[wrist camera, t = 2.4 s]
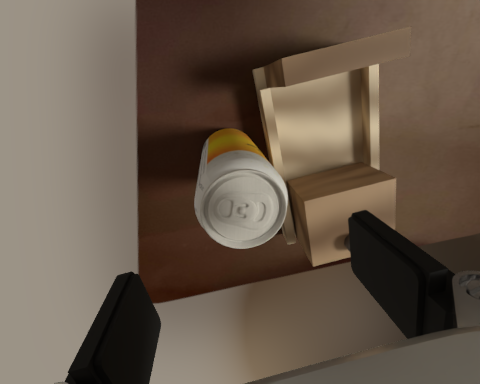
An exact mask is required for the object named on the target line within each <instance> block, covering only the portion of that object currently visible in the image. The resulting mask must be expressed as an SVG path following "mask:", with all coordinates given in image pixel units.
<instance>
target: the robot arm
mask: <svg viewBox="0 0 480 384" xmlns="http://www.w3.org/2000/svg"><path fill="white" fill-rule="evenodd" d="M348 226H349V240H350V254H351V267H352V270H353V272H354V274H355V275H356V277H357V278H358V279H359V280H360V281H361V283H362V284H363V285H364V286H365V288H366V289H367V290H368V291H369V292H370V294H371V295H372V296H373V297H374V299H375V300H376V301H377V302H378V303H379V305H380V306H381V307H382V308H383V309H384V310H385V312H386V313H387V314H388V316H389V317H390V318H391V319H392V321H393V322H394V323H395V324H396V325H397V327H398V328H399V329H400V330H401V331H402V333H403V334H404V335H405V336H406V338H407V339H406V340H402V341H398V342H394V343H390V344H386V345H382V346H379V347H375V348H372V349H368V350H364V351H360V352H357V353H353V354H350V355H346V356H342V357H338V358H335V359H331V360H327V361H324V362H320V363H316V364H313V365H309V366H306V367H302V368H298V369H295V370H291V371H288V372H284V373H281V374H277V375H273V376H270V377H266V378H263V379H259V380H256V381H252V382H248V383H245V384H480V272H479V271H462V272H459V273H457V274H456V275H455V274H454V273H452V272H451V271H450V270H448V268H446V267H445V266H444V265H442V264H441V263H440V262H438V261H437V260H436V259H434V258H433V257H431V256H430V255H429V254H427V253H426V252H424V251H423V250H422V249H420V248H419V247H417V246H416V245H415V244H413V243H412V242H411V241H409V240H408V239H406V238H405V237H404V236H402V235H401V234H399V233H398V232H397V231H395V230H394V229H392V228H391V227H390V226H388V225H387V224H386V223H384V222H383V221H381V220H380V219H379V218H377V217H376V216H374V215H373V214H372V213H370V212H369V211H367V210H362V211H359V212H355V213H352V215H351V217H349V218H348ZM160 328H161V321H160V318H159V315H158V313H157V311H156V309H155V307H154V305H153V303H152V301H151V299H150V297H149V295H148V293H147V291H146V289H145V287H144V285H143V282H142V280H141V278H140V276H139V275H138V274H134V273H133V272H128V273H124V274H121V275H118V276H117V277H116V279H115V281H114V283H113V285H112V287H111V288H110V290H109V293H108V294H107V296H106V299H105V300H104V302H103V304H102V306H101V308H100V310H99V312H98V314H97V316H96V318H95V320H94V322H93V324H92V326H91V328H90V330H89V332H88V334H87V336H86V338H85V340H84V342H83V343H82V346H81V347H80V349H79V351H78V353H77V355H76V357H75V359H74V361H73V363H72V365H71V367H70V369H69V371H68V373H69V374H68V376H67V378H66V380H65V382H58V383H54V384H149V381H150V376H151V372H152V367H153V361H154V357H155V352H156V348H157V343H158V338H159V333H160Z"/></svg>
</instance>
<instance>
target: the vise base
mask: <svg viewBox="0 0 480 384" xmlns="http://www.w3.org/2000/svg"><path fill="white" fill-rule="evenodd" d="M410 47H411V27H406V28H402V29H398V30H394V31H390V32H386V33H382V34H378V35H374V36H370V37H366V38H362V39H358V40H354V41H350V42H346V43H342V44H338V45H334V46H330V47H326V48H321V49H317V50H313V51H309V52H305V53H301V54H297V55H293V56H289V57H285V58H281V59H279V60H277V61H275V62H273V63H271V64H269V65H266V66H264V67H261V68H257V69H253V70H252V72H253V77H254V82H255V88H256V93H257V98H258V104H259V109H260V114H261V120H262V125H263V130H264V136H265V141H266V146H267V152H268V157H269V162H270V164H271V165H272V166H273V167H274V169H275V170H276V171H277V172H278V174H279V175H280V176H281V177H282V179H283V181H284V183H285V185H286V188H287V193H288V205H287V211H286V216H285V220H284V222H283V224H282V226H281V227H282V232H283V235H284V237H285V239H286V241H287V243H288V244H292V243H296V241H295V228H294V222H293V216H292V210H291V204H290V198H289V192H288V186H287V181H288V180H292V179H296V178H300V177H304V176H308V175H312V174H316V173H320V172H324V171H328V170H332V169H336V168H340V167H344V166H348V165H352V164H356V163H360V162H363V163H365V164H367V165H369V166H371V167H373V168H375V169H378V170H379V64H380V63H384V62H388V61H392V60H396V59H400V58H404V57H408V56H410Z"/></svg>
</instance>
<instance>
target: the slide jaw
mask: <svg viewBox="0 0 480 384" xmlns="http://www.w3.org/2000/svg"><path fill="white" fill-rule="evenodd" d="M287 186H288V192H289V198H290V204H291V210H292V216H293V222H294V228H295V235H296V238H297V240H298V241H299V243H300V245H301V246H302V248H303V250H304V252H305V253H306V255H307V257H308V259H309V260H310V262H311V264H312V265H313V266H317V265H321V264H325V263H328V262H332V261H336V260H340V259H344V258H348V257H351V254H350V240H349V226H348V218H349V217H351V215H352V213H355V212H359V211H362V210H367V211H369V212H370V213H372V214H373V215H374V216H376V217H377V218H379V219H380V220H381V221H383V222H384V223H386V224H387V225H388V226H390V227H391V228H392V229H394V230H395V207H396V178H395V177H392V176H390V175H388V174H386V173H384V172H382V171H380V170H378V169H375V168H373V167H371V166H369V165H367V164H365V163H363V162H360V163H356V164H352V165H348V166H344V167H340V168H336V169H332V170H328V171H324V172H320V173H316V174H312V175H308V176H304V177H300V178H296V179H292V180H288V181H287Z"/></svg>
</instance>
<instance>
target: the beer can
mask: <svg viewBox="0 0 480 384" xmlns="http://www.w3.org/2000/svg"><path fill="white" fill-rule="evenodd" d="M287 205H288V193H287V188H286V185H285V183H284V181H283V179H282V177H281V176H280V175H279V174H278V172H277V171H276V170H275V169H274V167H273V166H272V165H271V164H270V162H269V161H268V160H267V159H266V158H265V156H264V155H263V154H262V153H261V151H260V150H259V149H258V148H257V146H256V145H255V144H254V143H253V142H252V140H251V139H250V138H249V137H248V136H247V135H246V134H245V133H243V132H242V131H239V130H236V129H230V128H228V129H222V130H219V131H216V132H215V133H213V134H212V135H211V136H210V137H209V138H208V139H207V140H206V142H205V144H204V146H203V150H202V155H201V162H200V168H199V174H198V180H197V187H196V193H195V201H194V206H195V213H196V216H197V219H198V221H199V223H200V224H201V226H202V227H203V228H204V229H205V231H206V232H207V233H208V234H209V235H210V237H212V238H213V239H214V240H215V241H217V242H218V243H220V244H222V245H224V246H227V247H231V248H238V249H244V248H251V247H255V246H258V245H260V244H263V243H264V242H266V241H268V240H269V239H271V238H272V237H273V236H274V235H275V234H276V233H277V232H278V230H279V229H280V228H281V226H282V224H283V222H284V220H285V216H286V211H287Z"/></svg>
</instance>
